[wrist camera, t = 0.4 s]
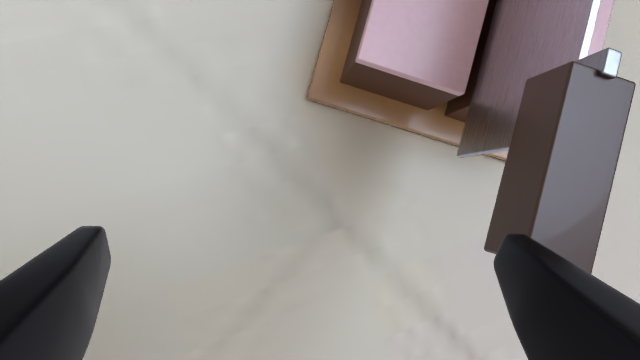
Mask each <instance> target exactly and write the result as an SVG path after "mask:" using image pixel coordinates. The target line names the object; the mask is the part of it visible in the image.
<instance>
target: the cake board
mask: <svg viewBox="0 0 640 360" xmlns="http://www.w3.org/2000/svg"><path fill="white" fill-rule="evenodd" d="M361 3H362V0H334V4H333V7H332V11H331V14H330V18H329V21H328V25H327V28H326V32H325V35H324V39H323V43H322V46H321V50H320V53H319V57H318V60H317V64H316V67H315V71H314V74H313V78H312V82H311V85H310V89H309V92H308V96H307V99H308V100H312V101H315V102H318V103H321V104H324V105H328V106H331V107H334V108H337V109H341V110H344V111H347V112H350V113H353V114H357V115H360V116H363V117H366V118H369V119H373V120H376V121H379V122H382V123H386V124H389V125H392V126H395V127H398V128H402V129H405V130H408V131H411V132H415V133H418V134H421V135H424V136H427V137H431V138H434V139H437V140H440V141H443V142H447V143H450V144H453V145H456V146H459V145H460V141H461V137H462V133H463V130H464V126H465V122H462V121H459V120H456V119H453V118H449V117H446V116H444V115H445V111H446V107H447V103H448V101H447V102H445V103H443V104H441V105H439V106H436V107H434V108H432V109H430V110H425V109H422V108H419V107H415V106H412V105H409V104H406V103H403V102H400V101H397V100H394V99H390V98H387V97H384V96H381V95H378V94H375V93H372V92H368V91H365V90H362V89H359V88H356V87H353V86H350V85H347V84H343V83H341V82H340V78H341V75H342V71H343V68H344V64H345V60H346V57H347V53H348V50H349V46H350V42H351V39H352V35H353V32H354V28H355V24H356V21H357V17H358V14H359V10H360V6H361ZM508 151H509V150H508ZM508 151H502V152H495V153H488V154H485V155H489V156H492V157H495V158H498V159H501V160H505V161H506V159H507V155H508Z"/></svg>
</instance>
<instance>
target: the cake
mask: <svg viewBox="0 0 640 360" xmlns="http://www.w3.org/2000/svg"><path fill="white" fill-rule="evenodd" d="M496 2H497V0H362V3H361V6H360V10H359V14H358V17H357V21H356V24H355V28H354V32H353V35H352V39H351V42H350V46H349V50H348V53H347V57H346V60H345V64H344V68H343V71H342V75H341V78H340V82H341V83H343V84H347V85H350V86H353V87H356V88H359V89H362V90H365V91H368V92H372V93H375V94H378V95H381V96H384V97H387V98H390V99H394V100H397V101H400V102H403V103H406V104H409V105H412V106H415V107H419V108H422V109H425V110H430V109H432V108H434V107H436V106H439V105H441V104H443V103H445V102H447V101H448V103H447V107H446V111H445V115H444V116H446V117H449V118H453V119H456V120H459V121H462V122H466V118H467V114H468V110H469V106H470V102H471V99H472V95H473V91H474V87H475V83H476V79H477V75H478V72H479V68H480V64H481V60H482V56H483V52H484V48H485V44H486V41H487V37H488V33H489V29H490V25H491V21H492V17H493V13H494V10H495V6H496ZM613 3H614V0H601V3H600V7H599V11H598V15H597V19H596V23H595V27H594V32H593V36H592V40H591V44H590V48H589V52H588V56H589V55H591V54H594V53H596V52H599V51H601V50H602V49H603V45H604V41H605V37H606V32H607V28H608V24H609V20H610V16H611V12H612V8H613Z"/></svg>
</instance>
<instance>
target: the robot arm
mask: <svg viewBox="0 0 640 360" xmlns="http://www.w3.org/2000/svg"><path fill="white" fill-rule="evenodd" d="M110 263H111V256H110V251H109V246H108V241H107V237H106V232H105V230H104V228H103V227H101V226H82V227H80V228H78V229H76V230H75V231H73V232H72V233H70V234H69V235H67V236H66V237H64V238H63V239H61V240H60V241H58V242H57V243H56V244H54V245H53V246H51V247H50V248H48V249H47V250H45V251H44V252H42V253H41V254H39V255H38V256H36V257H35V258H33V259H32V260H30V261H29V262H27V263H26V264H24V265H23V266H21V267H20V268H18V269H17V270H15V271H14V272H13V273H11V274H10V275H8V276H7V277H5V278H4V279H2V280H1V281H0V360H82V359H83V357H84V354H85V352H86V349H87V347H88V344H89V341H90V338H91V336H92V333H93V329H94V326H95V322H96V319H97V315H98V311H99V307H100V303H101V299H102V296H103V292H104V288H105V284H106V280H107V276H108V272H109V269H110ZM494 269H495V272H496V275H497V278H498V281H499V284H500V287H501V290H502V294H503V297H504V300H505V303H506V306H507V309H508V312H509V315H510V318H511V320H512V323H513V326H514V328H515V331H516V333H517V335H518V338H519V340H520V342H521V344H522V347H523V349H524V351H525V353H526V356H527V358H528V360H640V304H639V303H637V302H635V301H634V300H632V299H630V298H629V297H627V296H626V295H624V294H622V293H621V292H619V291H617V290H616V289H614V288H612V287H611V286H609V285H607V284H606V283H604V282H603V281H601V280H599V279H598V278H596V277H594V276H593V275H591V274H589V273H588V272H586V271H584V270H583V269H581V268H580V267H578V266H576V265H575V264H573V263H571V262H570V261H568V260H566V259H565V258H563V257H561V256H560V255H558V254H557V253H555V252H553V251H552V250H550V249H548V248H547V247H545V246H543V245H542V244H540V243H538V242H537V241H535V240H534V239H532V238H530V237H529V236H527V235H525V234H507V235H506V236H505V237H504V238H503V241H502V243H501V245H500V247H499V250H498V252H497V254H496V256H495V259H494Z"/></svg>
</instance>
